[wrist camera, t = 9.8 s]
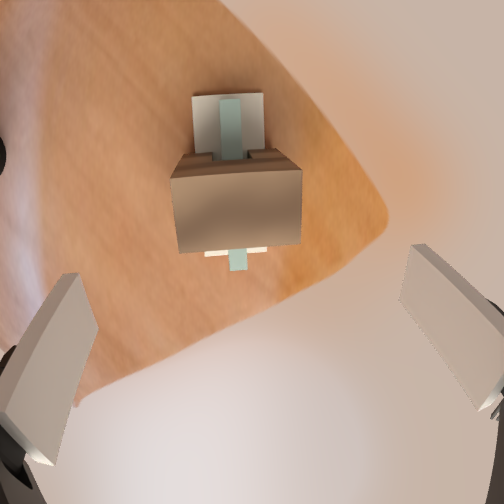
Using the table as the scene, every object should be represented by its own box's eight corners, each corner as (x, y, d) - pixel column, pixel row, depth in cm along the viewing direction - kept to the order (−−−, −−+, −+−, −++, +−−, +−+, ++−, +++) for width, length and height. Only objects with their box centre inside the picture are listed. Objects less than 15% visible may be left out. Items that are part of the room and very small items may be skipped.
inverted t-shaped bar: (192, 96, 25) (187, 95, 21) (261, 93, 25) (271, 91, 21) (205, 252, 32) (204, 278, 27) (265, 247, 32) (273, 272, 28)
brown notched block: (183, 154, 26) (169, 178, 18) (275, 148, 27) (302, 170, 19) (188, 208, 29) (179, 253, 21) (276, 202, 29) (300, 244, 21)
